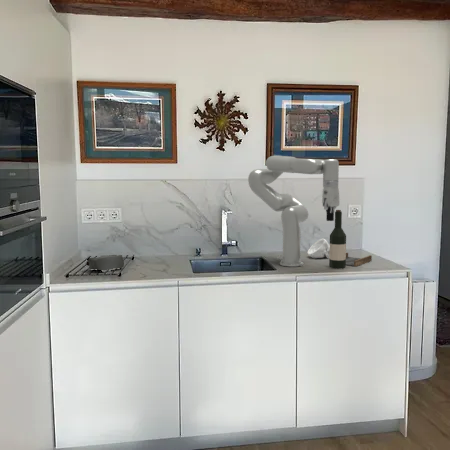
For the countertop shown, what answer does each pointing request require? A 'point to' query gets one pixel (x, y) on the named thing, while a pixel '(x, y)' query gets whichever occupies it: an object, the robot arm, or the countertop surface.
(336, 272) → the countertop surface
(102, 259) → the grey rounded piece
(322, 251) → the skull bowl
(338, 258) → the wine bottle
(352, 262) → the cradle
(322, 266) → the countertop surface
